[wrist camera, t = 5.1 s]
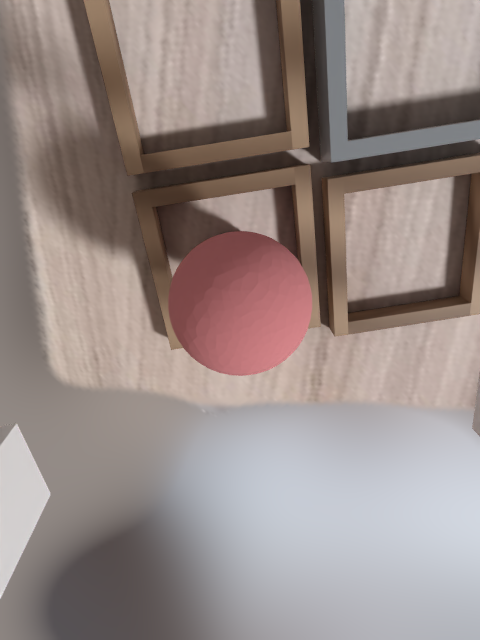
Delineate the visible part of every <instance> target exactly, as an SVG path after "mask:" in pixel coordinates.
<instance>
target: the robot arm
mask: <svg viewBox="0 0 480 640" xmlns="http://www.w3.org/2000/svg"><path fill="white" fill-rule="evenodd" d="M472 429H473V430H474V431H475V432H476V433H477V434H478V435H479V436H480V373H479V380H478V388H477V396H476V403H475V411H474V419H473V426H472ZM49 497H50V492H49V489H48V487H47V485H46V483H45V481H44V479H43V477H42V475H41V473H40V471H39V469H38V466H37V464H36V462H35V460H34V458H33V456H32V454H31V452H30V450H29V448H28V446H27V444H26V442H25V439H24V437H23V435H22V433H21V431H20V429H19V427H18V425H17V423H16V424H9V425H2V426H0V598H1V596H2V594H3V592H4V590H5V588H6V586H7V584H8V582H9V580H10V577H11V576H12V574H13V571H14V569H15V567H16V565H17V563H18V561H19V559H20V557H21V555H22V552H23V551H24V548H25V546H26V544H27V542H28V540H29V538H30V536H31V534H32V532H33V530H34V528H35V526H36V523H37V522H38V519H39V517H40V515H41V513H42V511H43V509H44V507H45V505H46V503H47V501H48V499H49Z"/></svg>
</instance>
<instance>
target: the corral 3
mask: <svg viewBox="0 0 480 640" xmlns="http://www.w3.org/2000/svg"><path fill="white" fill-rule="evenodd" d="M312 9H313V28H314V46H315V65H316V84H317V103H318V122H319V141H320V160H321V162H330V163H332V162H339V161H345V160H351V159H358V158H364V157H370V156H376V155H383V154H389V153H395V152H402V151H408V150H414V149H420V148H427V147H433V146H439V145H446V144H452V143H458V142H464V141H471V140H477V139H480V119H477V120H470V121H464V122H458V123H451V124H445V125H439V126H433V127H426V128H420V129H414V130H408V131H401V132H395V133H389V134H382V135H376V136H370V137H364V138H357V139H351V140H348V131H347V91H346V52H345V12H344V0H312Z"/></svg>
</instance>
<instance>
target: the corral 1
mask: <svg viewBox="0 0 480 640" xmlns="http://www.w3.org/2000/svg"><path fill="white" fill-rule="evenodd" d="M84 4H85V8H86V12H87V16H88V20H89V24H90V28H91V32H92V36H93V40H94V44H95V48H96V52H97V56H98V60H99V64H100V68H101V72H102V76H103V80H104V84H105V88H106V92H107V96H108V100H109V104H110V108H111V112H112V116H113V120H114V124H115V128H116V132H117V136H118V140H119V144H120V148H121V152H122V156H123V160H124V164H125V168H126V172H127V176H130V175H136V174H142V173H148V172H155V171H161V170H167V169H173V168H180V167H186V166H192V165H199V164H205V163H211V162H217V161H224V160H230V159H236V158H242V157H249V156H255V155H261V154H268V153H274V152H280V151H286V150H293V149H299V148H305V147H309V134H308V119H307V103H306V87H305V71H304V56H303V40H302V24H301V8H300V0H276V8H277V20H278V32H279V44H280V56H281V68H282V80H283V91H284V103H285V115H286V127H287V132H282V133H276V134H269V135H263V136H257V137H251V138H244V139H238V140H232V141H225V142H219V143H213V144H207V145H200V146H194V147H188V148H182V149H175V150H169V151H163V152H157V153H150V154H144V152H143V147H142V143H141V139H140V134H139V130H138V126H137V121H136V117H135V112H134V108H133V104H132V99H131V95H130V91H129V86H128V82H127V77H126V73H125V69H124V64H123V60H122V56H121V51H120V47H119V43H118V38H117V34H116V29H115V25H114V21H113V16H112V12H111V8H110V3H109V0H84Z"/></svg>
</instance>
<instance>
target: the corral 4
mask: <svg viewBox="0 0 480 640" xmlns="http://www.w3.org/2000/svg"><path fill="white" fill-rule="evenodd" d="M466 174H471V183H470V193H469V203H468V213H467V223H466V233H465V243H464V253H463V263H462V273H461V283H460V293H459V296H455V297H449V298H442V299H436V300H429V301H423V302H417V303H410V304H404V305H397V306H391V307H384V308H378V309H372V310H365V311H359V312H352V313H348V306H347V273H346V240H345V207H344V194H345V193H352V192H358V191H364V190H371V189H377V188H383V187H390V186H396V185H402V184H409V183H415V182H421V181H428V180H434V179H440V178H447V177H453V176H459V175H466ZM322 197H323V216H324V235H325V254H326V273H327V292H328V311H329V328H330V330H331V331H332V333H333V334H334V336H342V335H348V334H355V333H361V332H367V331H374V330H380V329H387V328H393V327H400V326H406V325H413V324H419V323H426V322H432V321H438V320H445V319H451V318H458V317H464V316H471V315H477V314H480V153H475V154H469V155H462V156H456V157H450V158H443V159H437V160H431V161H424V162H418V163H412V164H405V165H399V166H393V167H387V168H380V169H374V170H368V171H361V172H355V173H349V174H342V175H336V176H330V177H324V178H322Z"/></svg>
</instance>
